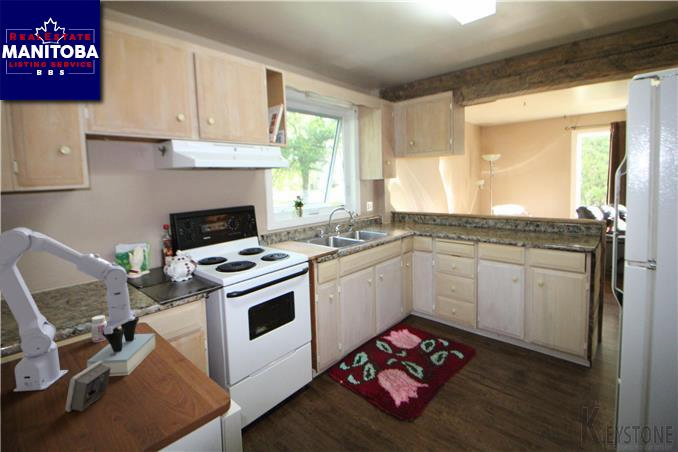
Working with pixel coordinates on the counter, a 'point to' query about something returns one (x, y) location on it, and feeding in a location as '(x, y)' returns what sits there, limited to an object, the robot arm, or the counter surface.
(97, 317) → the pill bottle
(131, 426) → the counter surface
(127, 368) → the base
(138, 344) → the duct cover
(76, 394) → the electrical switch
